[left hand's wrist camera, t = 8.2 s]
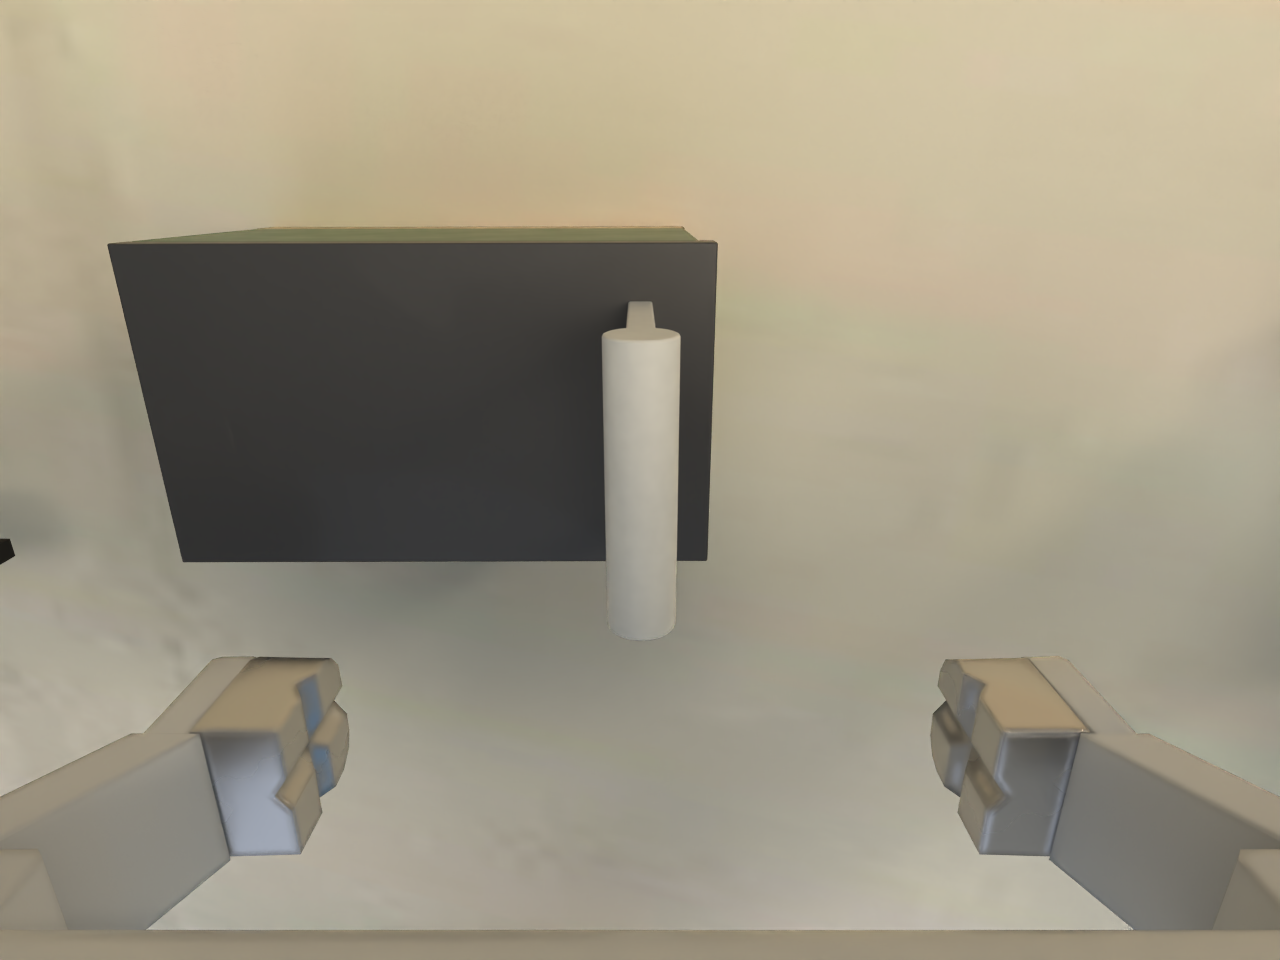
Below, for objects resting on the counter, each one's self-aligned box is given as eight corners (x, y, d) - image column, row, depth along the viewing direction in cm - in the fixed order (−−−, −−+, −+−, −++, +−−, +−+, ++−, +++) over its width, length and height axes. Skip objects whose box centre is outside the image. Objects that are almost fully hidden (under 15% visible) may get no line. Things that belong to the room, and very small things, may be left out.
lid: (714, 240, 22) (753, 264, 15) (705, 548, 26) (732, 694, 18) (127, 241, 22) (-132, 266, 15) (197, 550, 26) (17, 696, 18)
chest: (682, 226, 31) (700, 240, 23) (678, 458, 35) (692, 548, 26) (271, 227, 31) (127, 241, 22) (309, 459, 35) (198, 549, 26)
